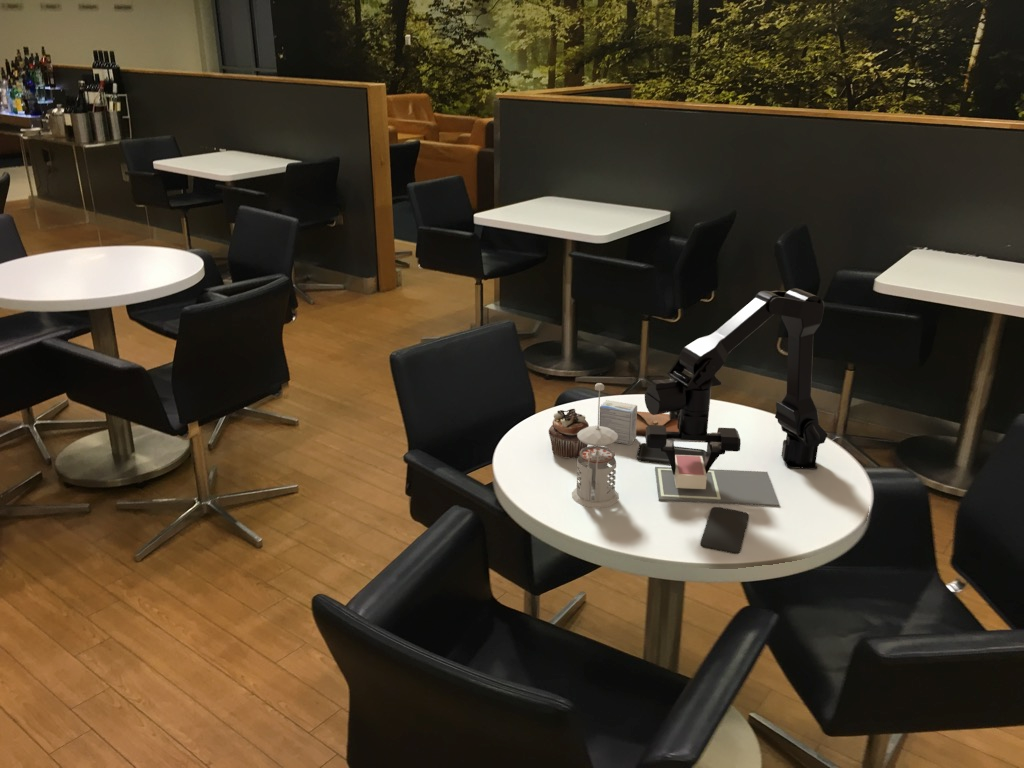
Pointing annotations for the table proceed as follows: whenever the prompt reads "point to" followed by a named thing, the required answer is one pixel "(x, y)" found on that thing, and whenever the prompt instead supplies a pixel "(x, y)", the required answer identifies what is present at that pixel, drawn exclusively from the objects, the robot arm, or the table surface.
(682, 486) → the card deck
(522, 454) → the table surface
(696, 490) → the mat
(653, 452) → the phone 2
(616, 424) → the medicine box
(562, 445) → the cupcake
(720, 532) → the phone
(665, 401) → the robot arm
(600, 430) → the french press
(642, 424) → the sunglasses case
